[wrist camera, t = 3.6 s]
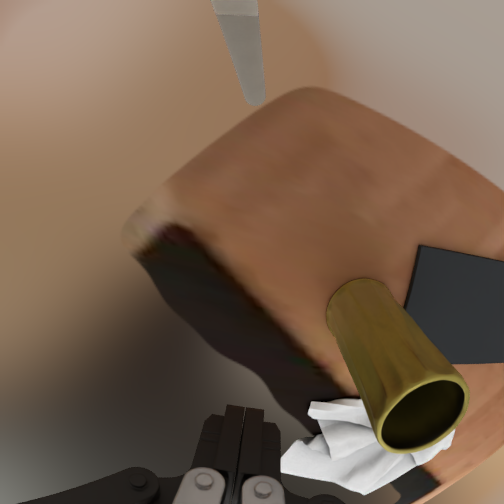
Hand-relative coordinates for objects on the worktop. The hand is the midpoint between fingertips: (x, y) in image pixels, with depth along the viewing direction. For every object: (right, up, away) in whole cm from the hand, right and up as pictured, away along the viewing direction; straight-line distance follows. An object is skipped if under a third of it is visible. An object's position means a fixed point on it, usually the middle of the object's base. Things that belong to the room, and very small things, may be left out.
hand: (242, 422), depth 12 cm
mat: (+22, +1, +14) cm, 26 cm away
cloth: (+13, -14, +18) cm, 27 cm away
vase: (+10, +2, +14) cm, 17 cm away
